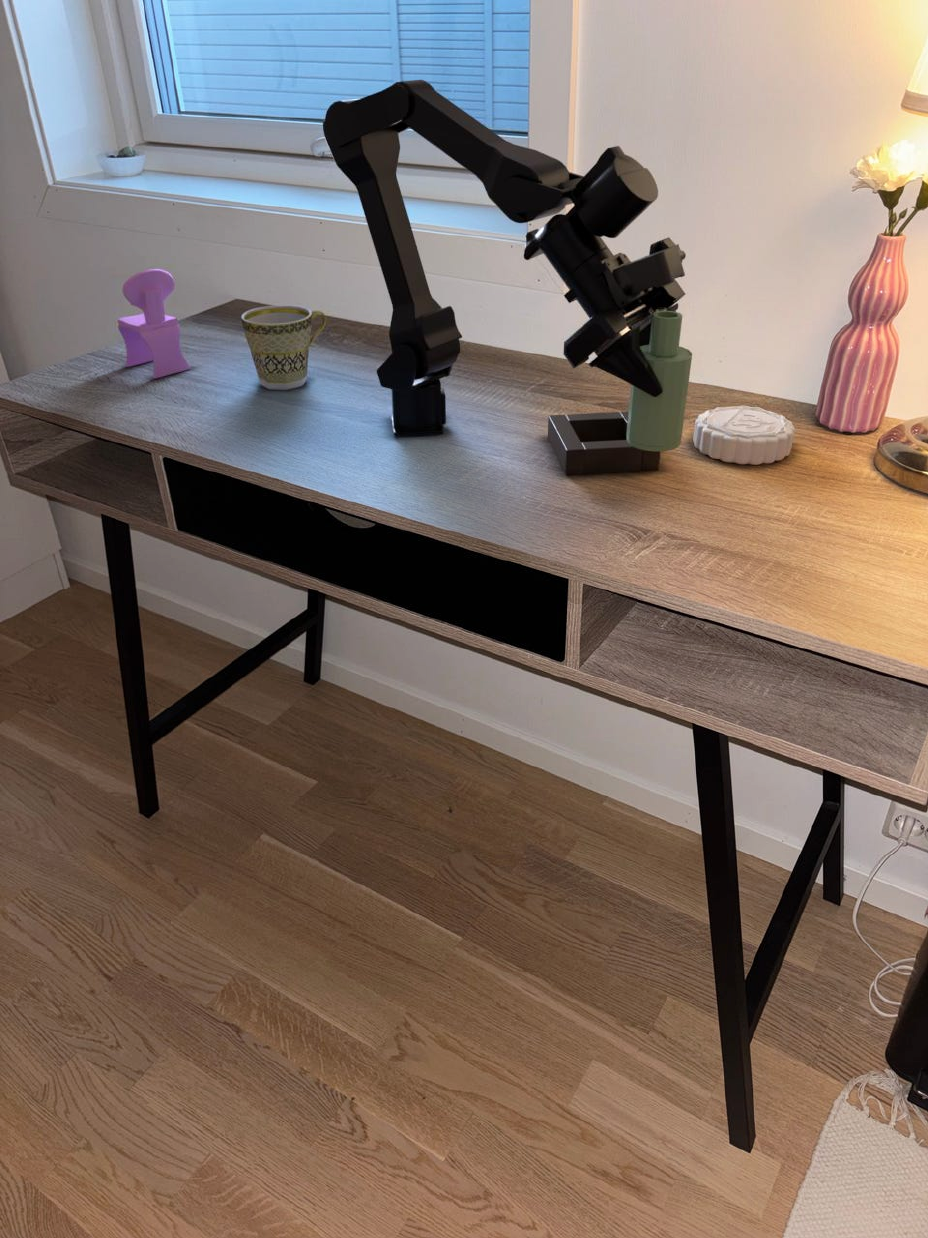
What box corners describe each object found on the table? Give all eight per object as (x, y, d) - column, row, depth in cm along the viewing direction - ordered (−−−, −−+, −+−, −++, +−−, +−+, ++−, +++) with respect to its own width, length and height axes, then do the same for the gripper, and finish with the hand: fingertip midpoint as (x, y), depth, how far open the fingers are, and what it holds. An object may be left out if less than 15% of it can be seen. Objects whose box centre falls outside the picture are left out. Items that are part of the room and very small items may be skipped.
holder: (565, 475, 116) (566, 450, 114) (547, 438, 125) (548, 415, 123) (658, 470, 117) (661, 445, 115) (634, 434, 126) (636, 410, 125)
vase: (634, 452, 106) (647, 323, 98) (620, 431, 111) (631, 307, 103) (687, 450, 107) (704, 321, 99) (671, 429, 112) (686, 305, 104)
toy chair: (166, 355, 156) (148, 257, 148) (196, 367, 150) (180, 266, 142) (118, 367, 151) (98, 266, 143) (148, 380, 146) (129, 276, 137)
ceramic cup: (270, 399, 138) (262, 328, 133) (237, 381, 145) (228, 313, 140) (347, 379, 145) (342, 311, 140) (312, 363, 152) (306, 297, 146)
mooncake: (774, 473, 116) (779, 444, 114) (678, 452, 121) (681, 425, 119) (802, 440, 124) (807, 413, 122) (712, 422, 130) (715, 396, 128)
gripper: (599, 230, 91) (695, 367, 92) (678, 200, 105) (761, 320, 105) (523, 303, 99) (612, 428, 100) (606, 267, 112) (684, 377, 113)
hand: (671, 386), depth 105 cm, fingers closed on vase, 6 cm apart
